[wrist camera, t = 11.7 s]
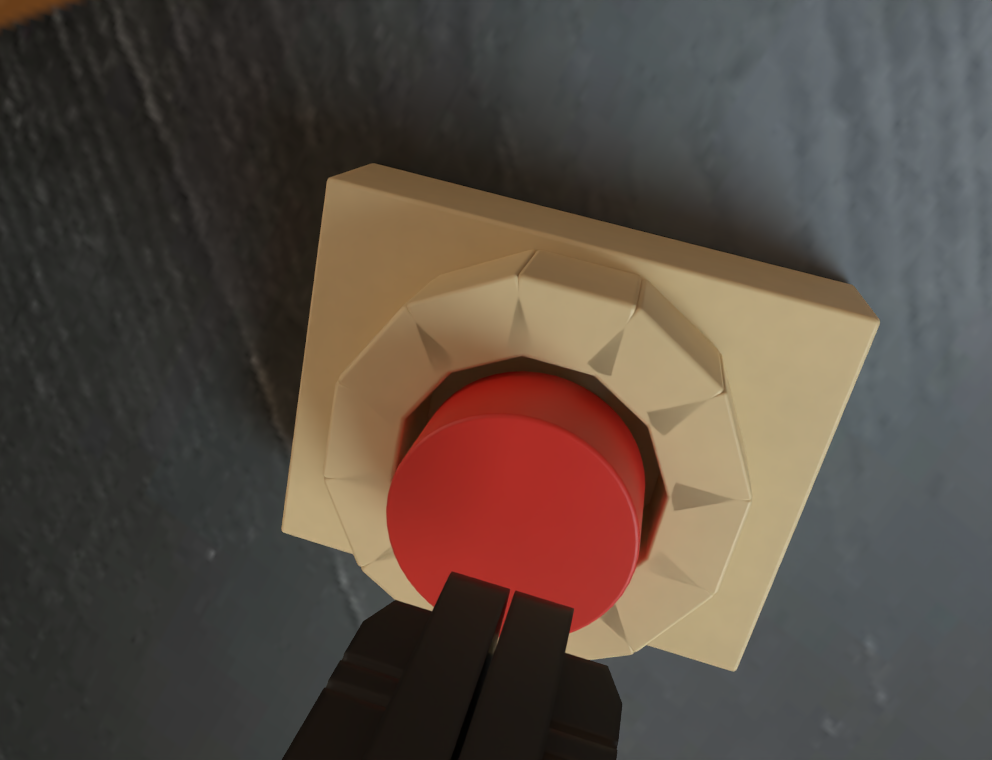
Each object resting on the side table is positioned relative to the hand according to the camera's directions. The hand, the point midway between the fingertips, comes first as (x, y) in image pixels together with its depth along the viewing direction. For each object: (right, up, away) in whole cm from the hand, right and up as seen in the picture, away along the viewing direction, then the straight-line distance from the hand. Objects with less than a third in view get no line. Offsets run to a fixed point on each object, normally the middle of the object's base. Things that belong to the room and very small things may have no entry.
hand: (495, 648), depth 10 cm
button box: (+1, +3, +7) cm, 7 cm away
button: (+1, +2, +3) cm, 4 cm away
